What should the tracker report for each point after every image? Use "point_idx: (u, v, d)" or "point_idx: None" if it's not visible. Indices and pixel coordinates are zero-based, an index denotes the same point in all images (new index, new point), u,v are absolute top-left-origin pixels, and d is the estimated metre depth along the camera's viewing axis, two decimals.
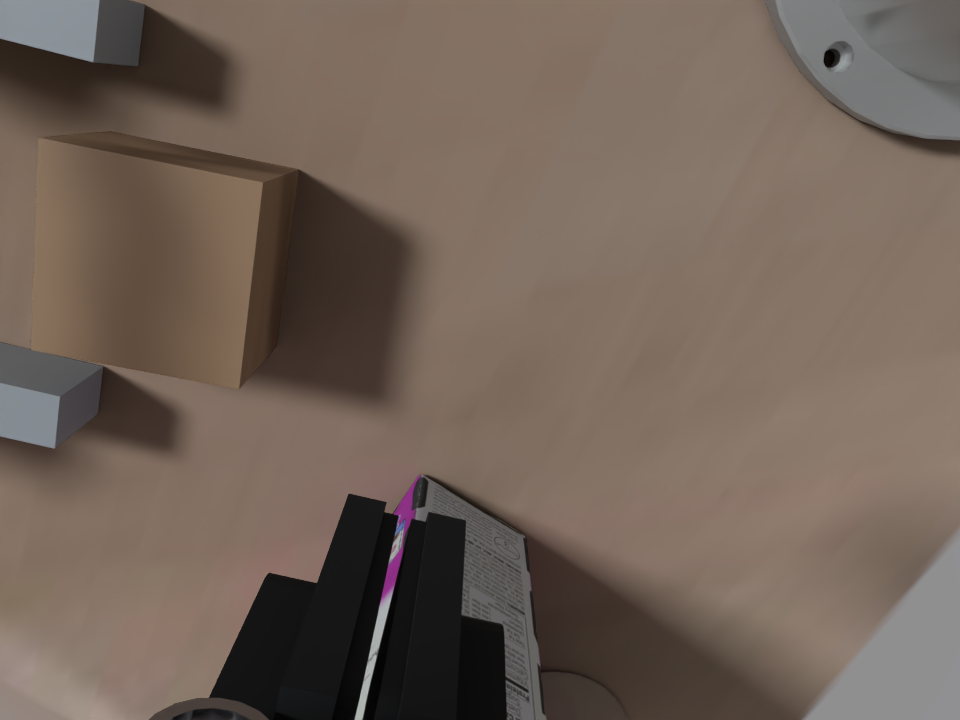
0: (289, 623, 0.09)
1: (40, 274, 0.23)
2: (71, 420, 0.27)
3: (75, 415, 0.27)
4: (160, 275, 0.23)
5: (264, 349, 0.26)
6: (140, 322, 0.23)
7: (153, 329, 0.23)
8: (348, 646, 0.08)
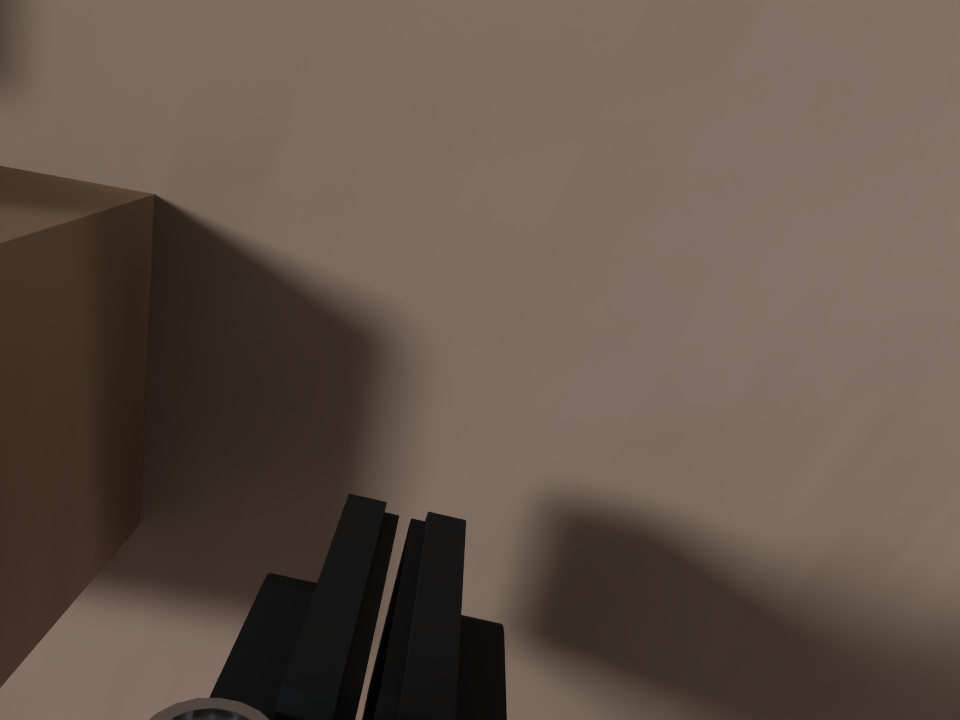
0: (290, 624, 0.09)
1: None
2: None
3: None
4: None
5: (92, 557, 0.13)
6: None
7: None
8: (349, 646, 0.08)
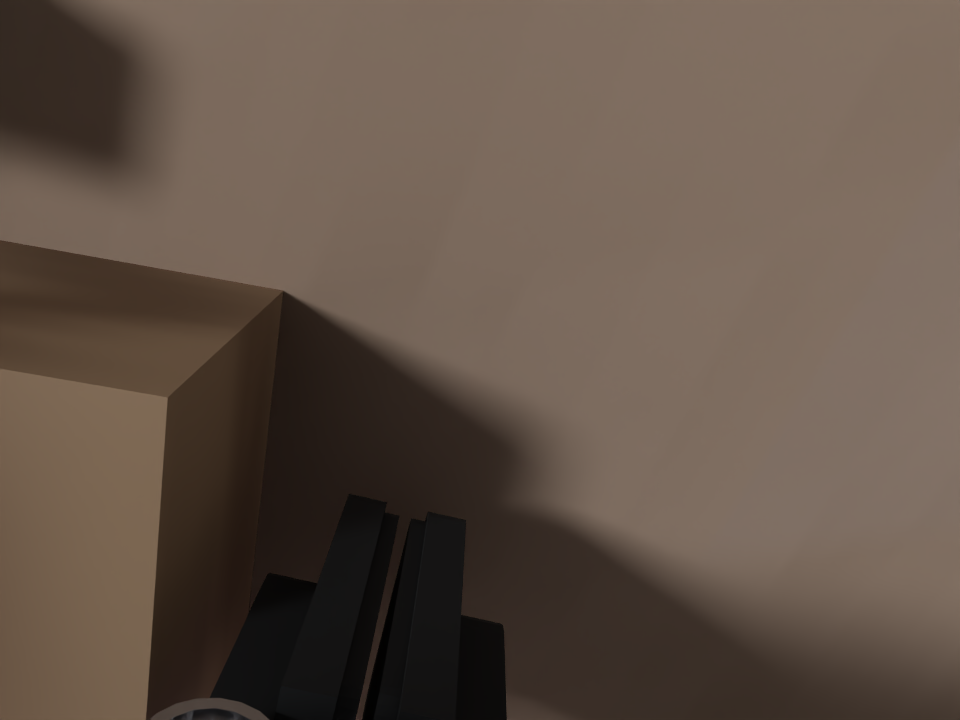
0: (289, 623, 0.09)
1: None
2: None
3: None
4: None
5: None
6: None
7: None
8: (349, 646, 0.08)
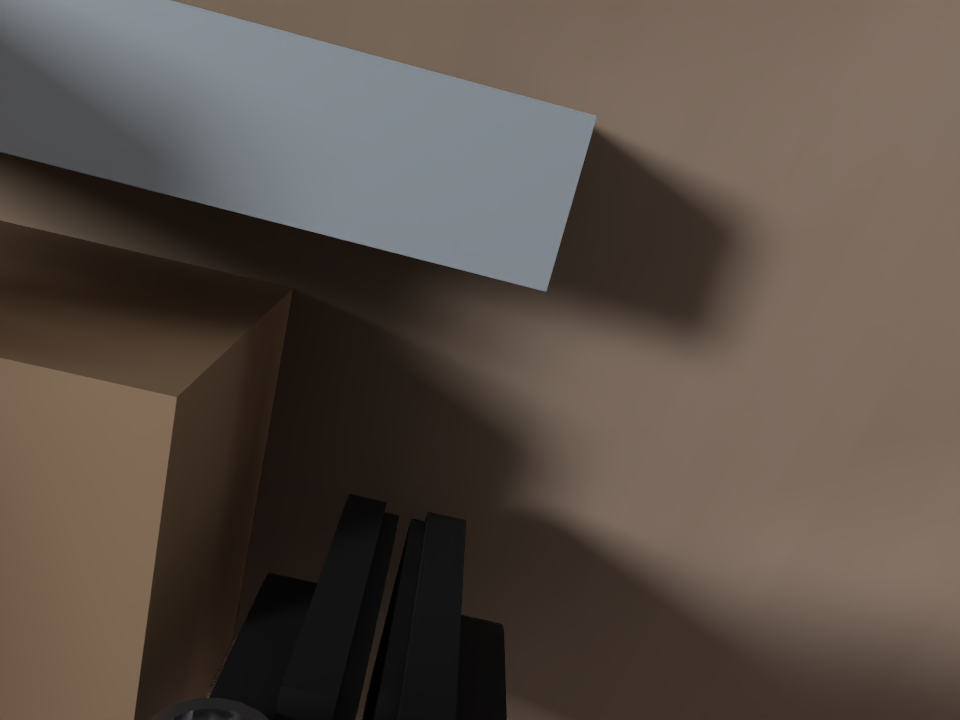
0: (290, 624, 0.09)
1: None
2: None
3: None
4: None
5: None
6: None
7: None
8: (349, 646, 0.08)
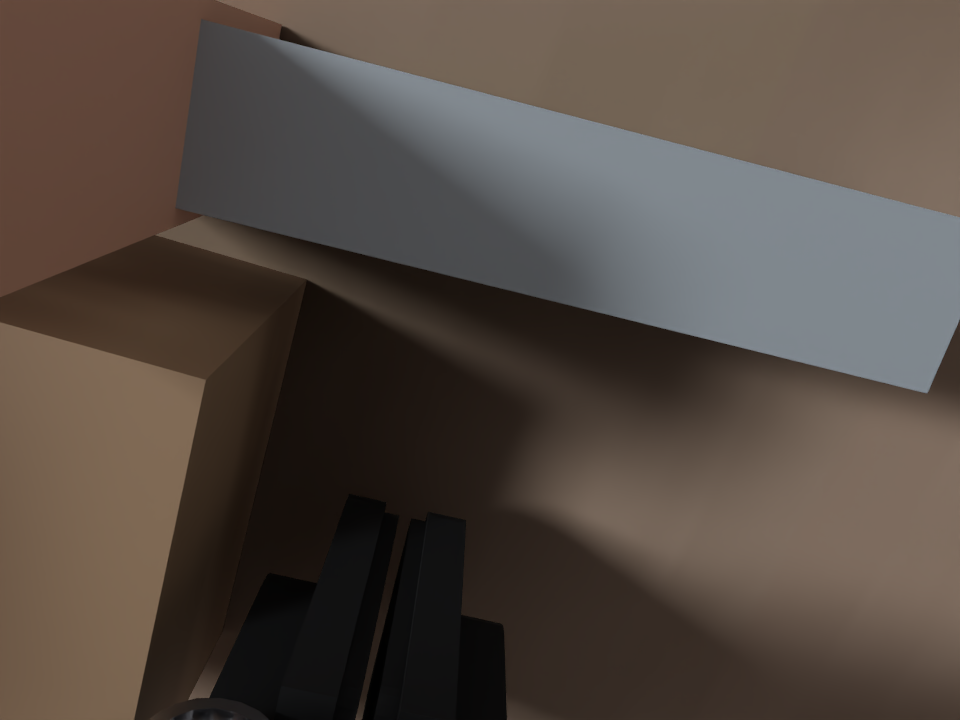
0: (289, 624, 0.09)
1: None
2: None
3: None
4: None
5: (190, 682, 0.12)
6: None
7: None
8: (349, 646, 0.08)
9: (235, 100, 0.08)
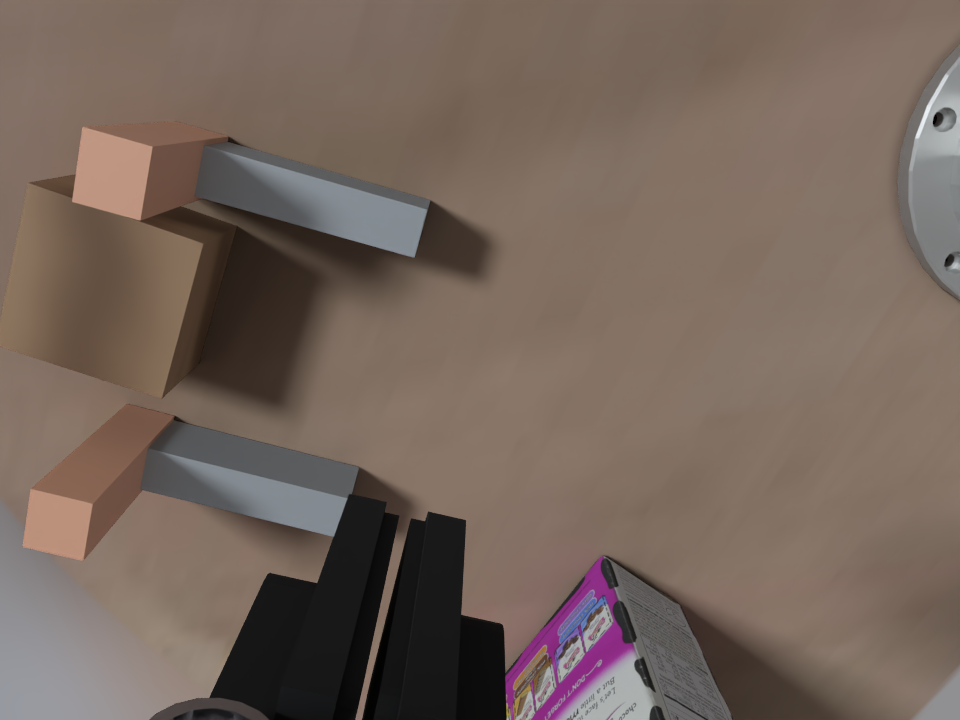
0: (290, 623, 0.09)
1: (12, 287, 0.29)
2: None
3: None
4: (111, 302, 0.29)
5: (187, 366, 0.32)
6: (89, 336, 0.29)
7: (98, 342, 0.29)
8: (349, 646, 0.08)
9: (212, 167, 0.29)
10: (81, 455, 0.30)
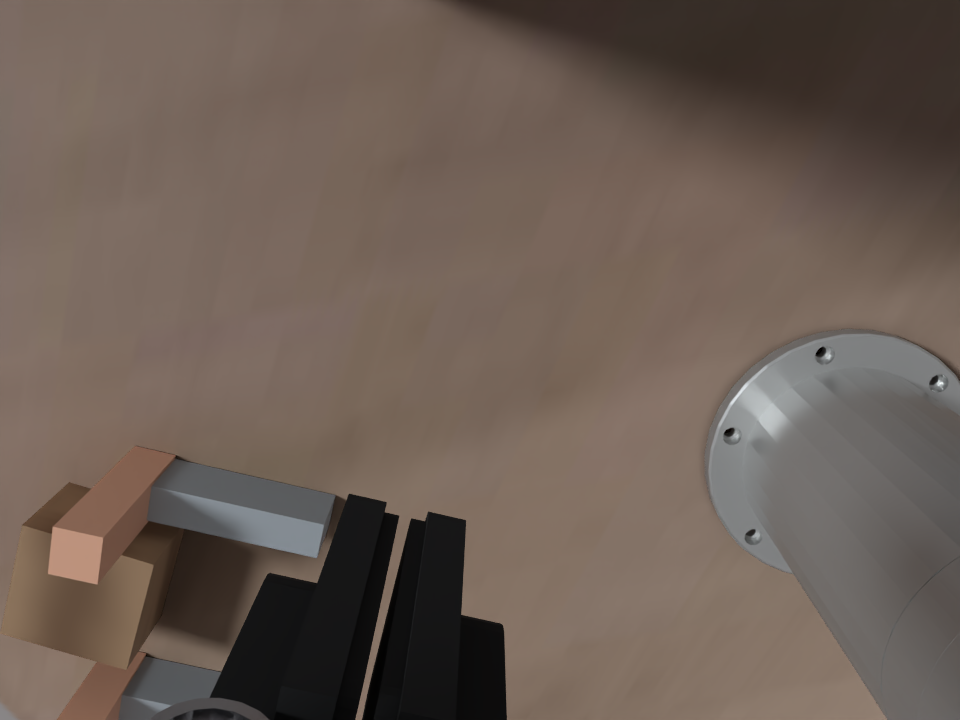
0: (289, 624, 0.09)
1: (12, 594, 0.38)
2: None
3: None
4: (86, 604, 0.38)
5: (150, 629, 0.41)
6: (70, 627, 0.38)
7: (77, 631, 0.39)
8: (349, 646, 0.08)
9: (158, 500, 0.38)
10: (68, 715, 0.39)
